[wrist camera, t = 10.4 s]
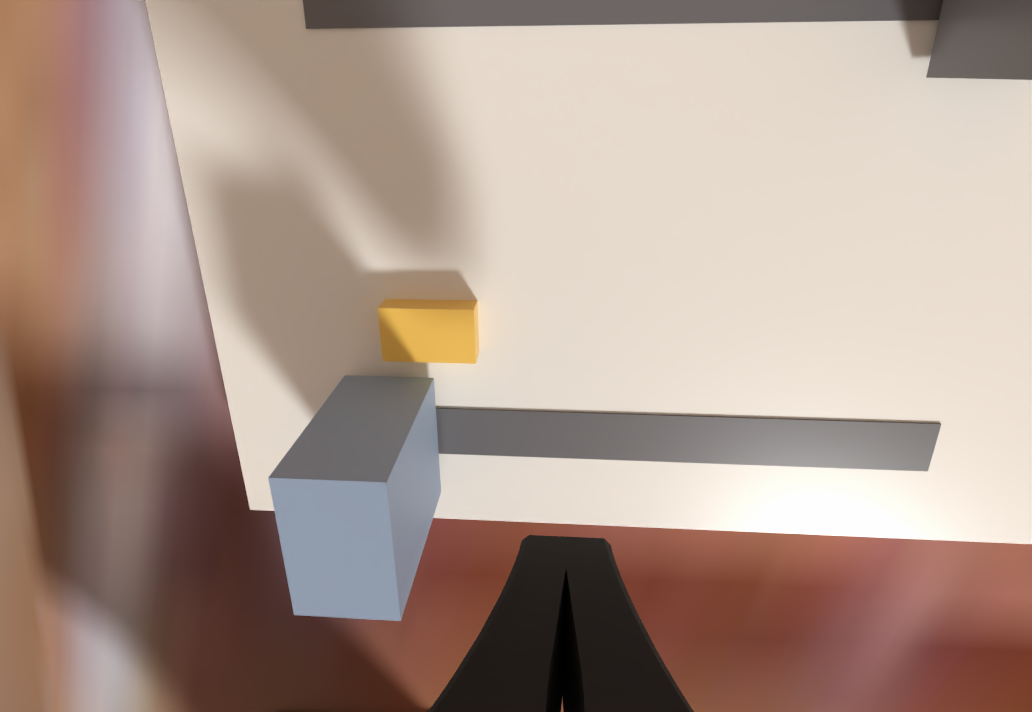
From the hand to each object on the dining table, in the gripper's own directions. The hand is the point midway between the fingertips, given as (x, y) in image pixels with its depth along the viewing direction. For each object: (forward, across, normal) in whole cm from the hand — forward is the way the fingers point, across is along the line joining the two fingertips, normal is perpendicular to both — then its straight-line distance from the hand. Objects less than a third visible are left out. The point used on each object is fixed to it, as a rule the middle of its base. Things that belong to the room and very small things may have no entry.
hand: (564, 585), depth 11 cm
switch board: (+7, -2, -5) cm, 9 cm away
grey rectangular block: (+4, +4, 0) cm, 6 cm away
